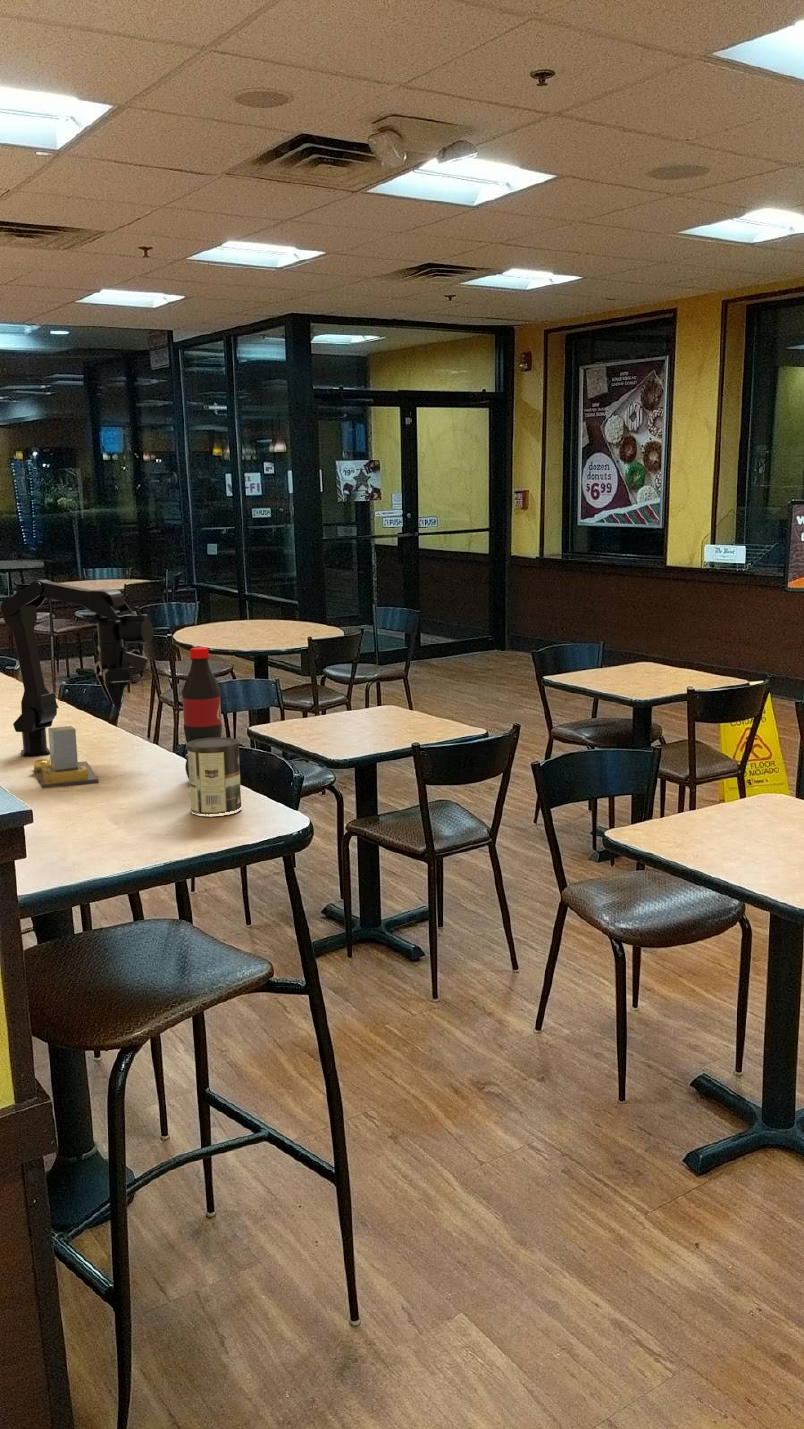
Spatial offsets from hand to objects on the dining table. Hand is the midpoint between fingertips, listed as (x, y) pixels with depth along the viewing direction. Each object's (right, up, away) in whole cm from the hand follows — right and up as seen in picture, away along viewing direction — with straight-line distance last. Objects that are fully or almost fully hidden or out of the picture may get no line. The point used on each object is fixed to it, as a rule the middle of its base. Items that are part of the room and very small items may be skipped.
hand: (114, 706), depth 265 cm
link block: (-6, -16, -20) cm, 26 cm away
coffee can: (+33, -22, -47) cm, 61 cm away
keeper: (-7, -16, -16) cm, 24 cm away
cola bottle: (+26, -17, -22) cm, 38 cm away
